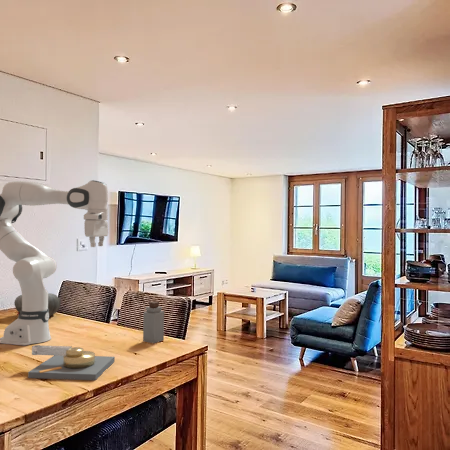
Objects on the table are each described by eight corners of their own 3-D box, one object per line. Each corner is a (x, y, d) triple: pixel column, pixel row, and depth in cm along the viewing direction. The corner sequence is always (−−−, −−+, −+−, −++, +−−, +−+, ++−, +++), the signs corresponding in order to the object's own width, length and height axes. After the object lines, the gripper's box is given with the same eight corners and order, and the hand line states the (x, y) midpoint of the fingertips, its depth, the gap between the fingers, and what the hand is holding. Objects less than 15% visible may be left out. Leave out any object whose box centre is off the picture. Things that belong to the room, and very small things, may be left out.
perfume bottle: (153, 343, 188) (154, 304, 188) (143, 341, 191) (143, 302, 192) (163, 340, 194) (164, 302, 194) (152, 338, 197) (153, 300, 197)
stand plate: (27, 378, 142) (27, 371, 142) (55, 359, 162) (55, 354, 162) (95, 380, 141) (95, 374, 141) (114, 361, 161) (114, 355, 161)
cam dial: (99, 359, 157) (99, 343, 157) (87, 368, 146) (88, 352, 146) (39, 357, 158) (40, 342, 158) (24, 366, 147) (24, 350, 147)
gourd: (10, 318, 224) (15, 286, 228) (13, 316, 247) (18, 287, 250) (59, 319, 234) (63, 289, 237) (58, 318, 256) (61, 290, 260)
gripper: (98, 216, 197) (98, 245, 197) (82, 215, 176) (81, 247, 176) (111, 217, 196) (111, 245, 196) (96, 215, 176) (95, 247, 176)
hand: (96, 246), depth 186 cm, fingers open, 8 cm apart
